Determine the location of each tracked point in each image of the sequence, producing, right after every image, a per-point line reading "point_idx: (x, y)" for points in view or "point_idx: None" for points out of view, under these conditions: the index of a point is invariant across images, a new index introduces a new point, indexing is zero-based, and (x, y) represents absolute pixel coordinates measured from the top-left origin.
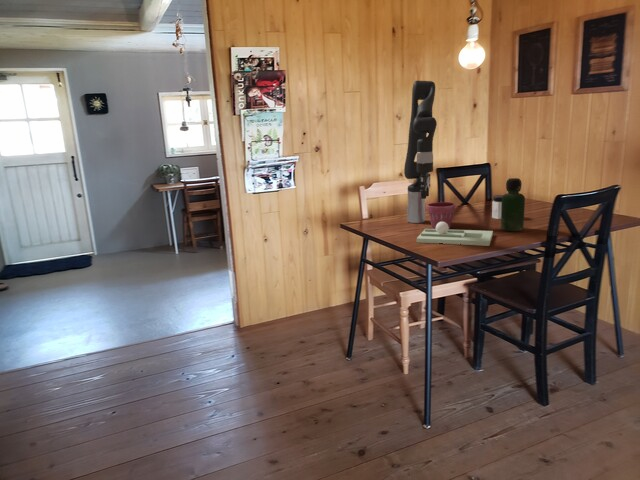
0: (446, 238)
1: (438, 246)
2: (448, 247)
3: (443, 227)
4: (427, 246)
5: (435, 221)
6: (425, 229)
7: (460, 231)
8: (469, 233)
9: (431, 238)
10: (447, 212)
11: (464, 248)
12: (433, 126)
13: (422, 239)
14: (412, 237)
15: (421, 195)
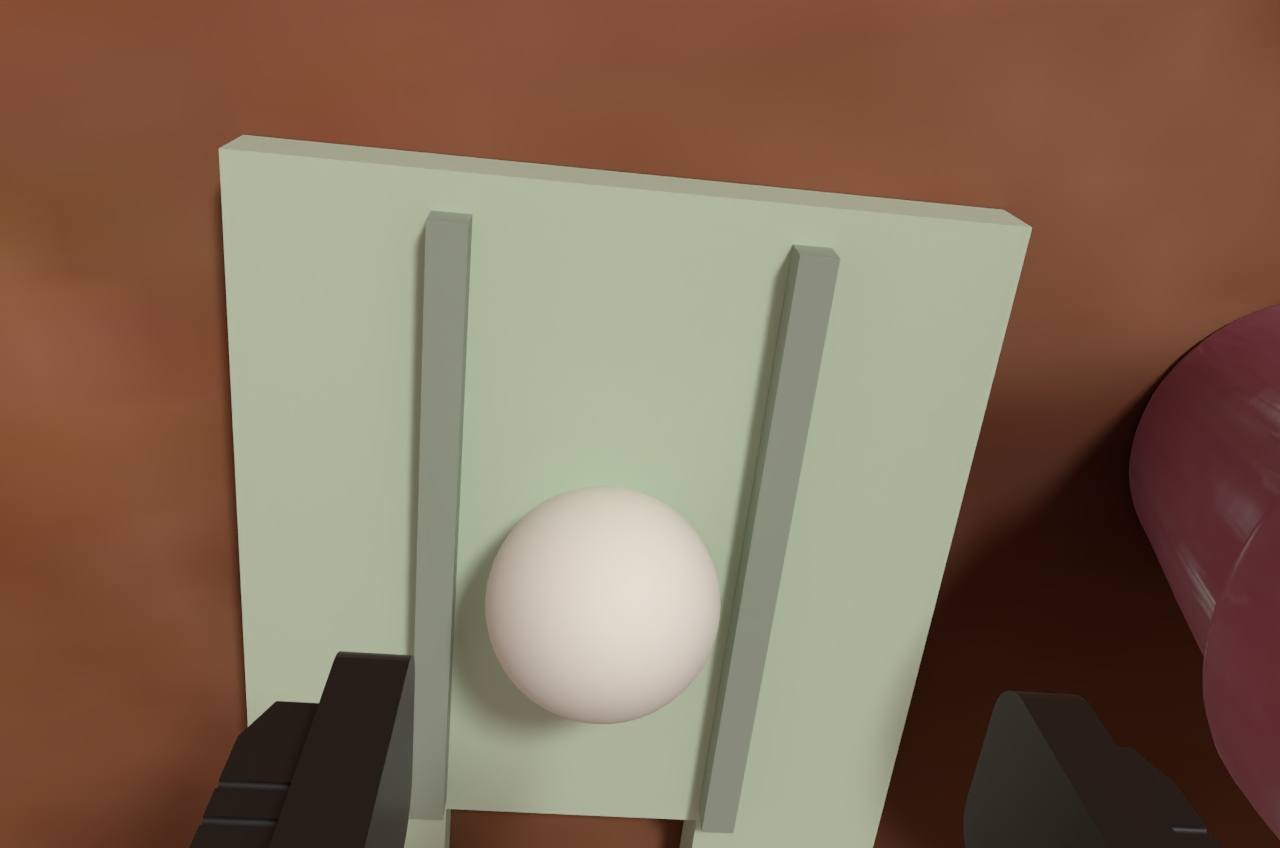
0: (313, 624)
1: (83, 500)
2: (69, 628)
3: (495, 651)
4: (31, 345)
5: (1217, 438)
6: (802, 266)
7: (707, 783)
8: None
9: (263, 412)
10: (1224, 763)
11: (81, 800)
12: None
13: (230, 257)
14: (617, 5)
15: (306, 752)
